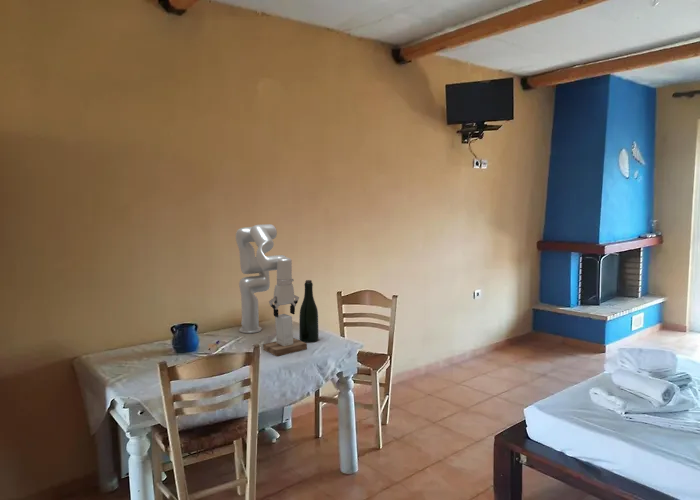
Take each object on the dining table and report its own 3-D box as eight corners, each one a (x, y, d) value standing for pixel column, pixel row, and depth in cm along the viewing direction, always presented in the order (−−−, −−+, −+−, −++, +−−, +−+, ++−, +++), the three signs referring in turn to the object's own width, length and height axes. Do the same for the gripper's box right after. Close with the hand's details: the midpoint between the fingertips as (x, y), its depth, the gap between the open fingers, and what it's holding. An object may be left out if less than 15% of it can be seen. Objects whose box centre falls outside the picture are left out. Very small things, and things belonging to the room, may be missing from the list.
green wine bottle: (311, 343, 275) (311, 282, 271) (295, 341, 280) (294, 280, 276) (322, 338, 284) (322, 279, 280) (306, 336, 289) (305, 277, 285)
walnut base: (263, 349, 265) (263, 344, 265) (293, 343, 276) (292, 337, 276) (276, 356, 255) (276, 350, 255) (306, 349, 266) (306, 343, 266)
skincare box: (293, 344, 264) (293, 316, 262) (283, 347, 260) (282, 318, 258) (285, 340, 270) (285, 313, 269) (275, 342, 267) (274, 314, 265)
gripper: (294, 278, 270) (294, 311, 272) (265, 282, 259) (265, 316, 261) (302, 281, 264) (302, 314, 266) (273, 285, 253) (273, 319, 256)
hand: (284, 315), depth 264 cm, fingers open, 9 cm apart
